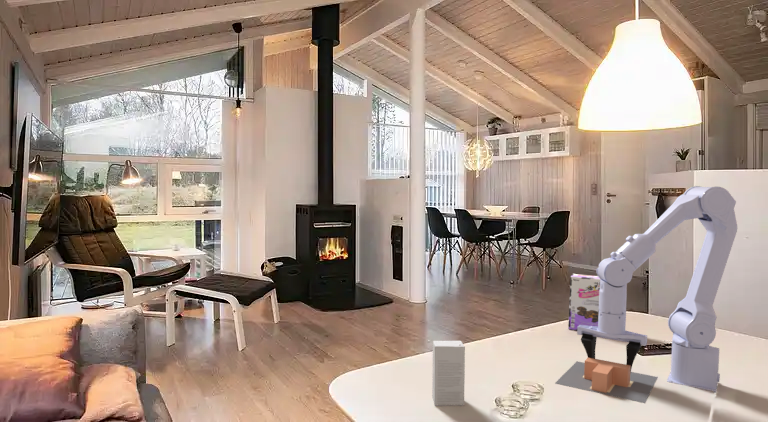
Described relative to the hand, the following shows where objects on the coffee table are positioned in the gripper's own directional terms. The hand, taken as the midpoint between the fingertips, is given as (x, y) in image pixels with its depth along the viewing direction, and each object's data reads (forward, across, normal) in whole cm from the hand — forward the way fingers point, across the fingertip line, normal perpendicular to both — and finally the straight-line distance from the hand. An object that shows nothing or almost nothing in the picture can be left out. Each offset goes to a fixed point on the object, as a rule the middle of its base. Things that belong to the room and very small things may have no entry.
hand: (609, 370), depth 123 cm
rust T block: (+1, 0, +6) cm, 6 cm away
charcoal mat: (+2, 0, +2) cm, 3 cm away
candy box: (+2, +13, -40) cm, 43 cm away
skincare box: (+2, +24, +33) cm, 41 cm away
